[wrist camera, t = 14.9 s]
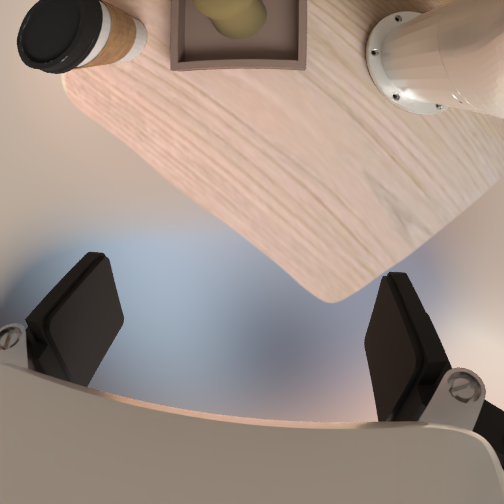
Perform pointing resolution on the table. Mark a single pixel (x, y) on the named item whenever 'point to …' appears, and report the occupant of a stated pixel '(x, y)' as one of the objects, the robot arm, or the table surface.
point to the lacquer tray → (239, 50)
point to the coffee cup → (78, 35)
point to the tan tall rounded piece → (234, 16)
